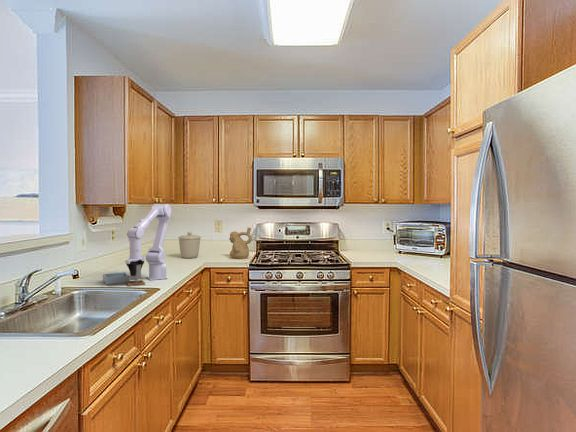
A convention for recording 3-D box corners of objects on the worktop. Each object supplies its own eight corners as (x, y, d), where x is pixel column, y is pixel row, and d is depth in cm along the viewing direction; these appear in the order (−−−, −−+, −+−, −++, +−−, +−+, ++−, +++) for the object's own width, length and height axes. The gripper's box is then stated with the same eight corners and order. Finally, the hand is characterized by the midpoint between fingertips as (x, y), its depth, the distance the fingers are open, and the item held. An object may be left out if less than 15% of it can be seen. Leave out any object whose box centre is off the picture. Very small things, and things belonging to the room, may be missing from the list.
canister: (196, 255, 318) (196, 230, 317) (204, 258, 303) (204, 232, 302) (175, 256, 308) (175, 231, 308) (181, 259, 293) (181, 232, 292)
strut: (134, 278, 208) (134, 264, 208) (141, 278, 208) (140, 264, 207) (130, 279, 204) (129, 265, 204) (136, 280, 204) (136, 265, 203)
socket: (141, 282, 212) (141, 279, 212) (145, 284, 205) (145, 282, 205) (125, 283, 207) (125, 281, 207) (128, 286, 200) (128, 284, 200)
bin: (125, 279, 219) (125, 272, 219) (129, 282, 209) (129, 275, 209) (102, 281, 213) (102, 274, 213) (105, 285, 203) (105, 277, 202)
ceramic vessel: (233, 256, 318) (233, 226, 317) (255, 257, 313) (255, 227, 312) (224, 258, 302) (224, 227, 301) (247, 260, 296) (247, 228, 295)
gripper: (133, 252, 197) (133, 277, 198) (149, 248, 212) (149, 272, 212) (121, 251, 199) (122, 277, 199) (138, 248, 213) (138, 272, 214)
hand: (135, 274), depth 206 cm, fingers closed on strut, 4 cm apart
